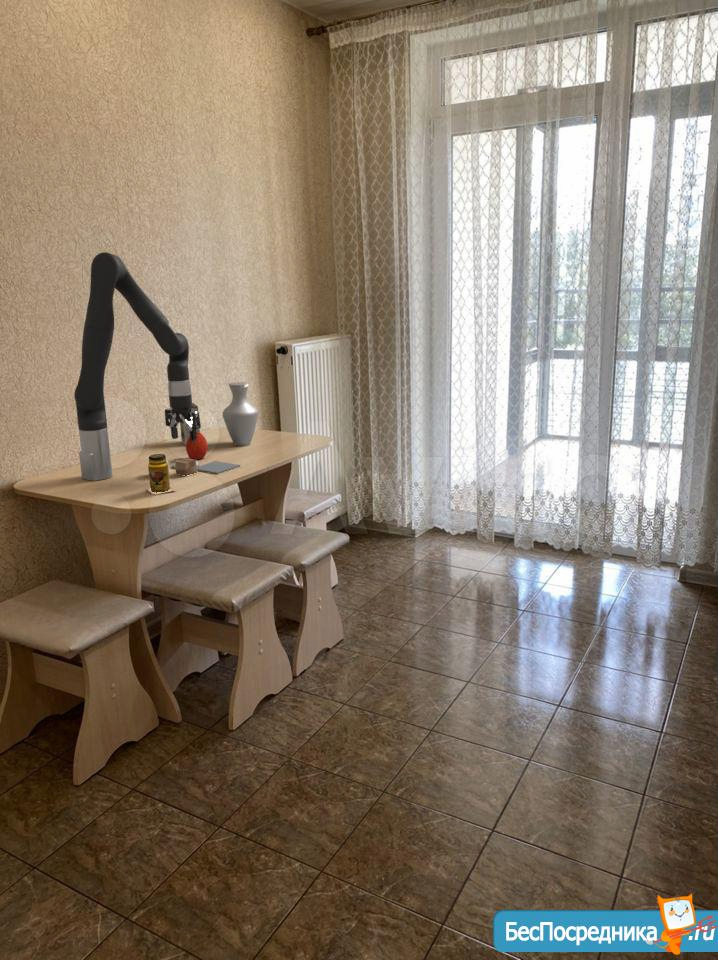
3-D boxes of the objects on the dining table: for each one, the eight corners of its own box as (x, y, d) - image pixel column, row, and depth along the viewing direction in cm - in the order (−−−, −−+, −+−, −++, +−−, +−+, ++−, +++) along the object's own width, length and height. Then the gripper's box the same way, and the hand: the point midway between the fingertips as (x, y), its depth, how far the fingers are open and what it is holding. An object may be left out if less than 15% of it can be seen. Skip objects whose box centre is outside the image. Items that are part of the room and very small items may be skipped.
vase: (263, 440, 299) (261, 381, 293) (254, 448, 286) (251, 386, 279) (230, 439, 301) (227, 380, 294) (219, 447, 288) (215, 386, 281)
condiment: (153, 496, 226) (149, 459, 223) (144, 489, 233) (141, 454, 229) (175, 491, 230) (172, 455, 226) (166, 485, 237) (163, 450, 233)
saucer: (186, 470, 255) (186, 467, 255) (168, 467, 259) (168, 463, 259) (204, 464, 262) (203, 461, 262) (186, 461, 267) (185, 458, 266)
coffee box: (180, 441, 299) (177, 403, 295) (196, 440, 302) (193, 402, 297) (185, 446, 291) (182, 407, 287) (201, 444, 294) (198, 405, 289)
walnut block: (186, 476, 247) (185, 463, 246) (176, 475, 249) (175, 461, 248) (196, 473, 251) (195, 459, 250) (186, 471, 254) (185, 458, 252)
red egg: (203, 461, 266) (201, 433, 263) (182, 461, 268) (180, 433, 265) (212, 456, 274) (210, 429, 271) (192, 455, 276) (189, 428, 273)
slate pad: (217, 474, 249) (217, 472, 249) (192, 469, 255) (192, 468, 255) (240, 466, 259) (240, 465, 259) (215, 462, 265) (215, 460, 265)
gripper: (156, 393, 243) (161, 440, 248) (187, 396, 236) (191, 444, 240) (172, 390, 249) (177, 435, 254) (203, 393, 242) (207, 439, 247)
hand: (184, 439), depth 247 cm, fingers open, 8 cm apart
